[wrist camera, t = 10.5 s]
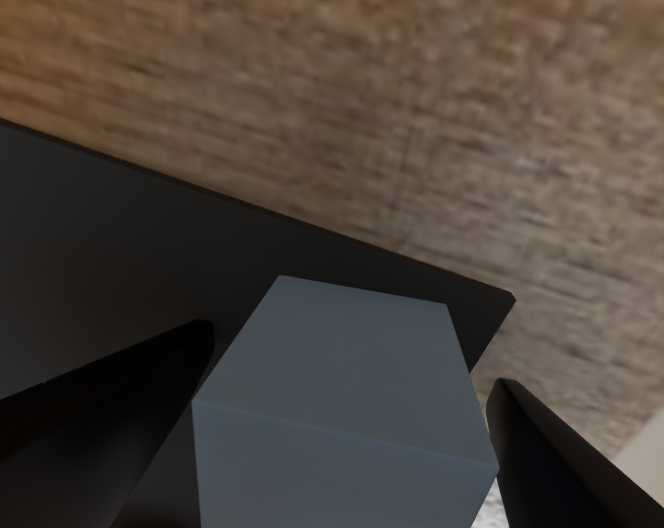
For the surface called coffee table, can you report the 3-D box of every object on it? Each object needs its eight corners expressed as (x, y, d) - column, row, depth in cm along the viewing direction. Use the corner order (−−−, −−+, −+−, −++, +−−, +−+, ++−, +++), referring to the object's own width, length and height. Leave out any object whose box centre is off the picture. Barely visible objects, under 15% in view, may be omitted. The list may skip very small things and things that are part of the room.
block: (447, 303, 8) (503, 470, 4) (409, 425, 9) (425, 622, 6) (278, 273, 8) (189, 401, 4) (271, 396, 10) (202, 563, 6)
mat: (511, 291, 8) (517, 300, 7) (281, 661, 18) (279, 672, 17) (-124, 76, 8) (-149, 74, 8) (4, 560, 18) (-4, 569, 18)
